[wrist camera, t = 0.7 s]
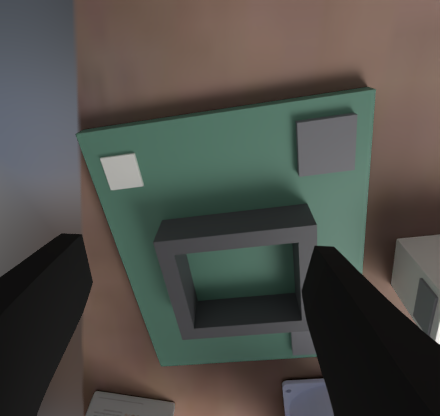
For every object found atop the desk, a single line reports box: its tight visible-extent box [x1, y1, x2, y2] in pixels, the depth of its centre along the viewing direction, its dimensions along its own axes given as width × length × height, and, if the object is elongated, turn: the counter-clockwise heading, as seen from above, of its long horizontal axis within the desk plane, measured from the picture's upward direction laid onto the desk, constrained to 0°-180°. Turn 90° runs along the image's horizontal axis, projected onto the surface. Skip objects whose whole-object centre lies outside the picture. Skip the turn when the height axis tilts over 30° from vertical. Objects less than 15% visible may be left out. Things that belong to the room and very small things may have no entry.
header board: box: [76, 87, 376, 366], centre depth 20 cm, size 20×16×4 cm
